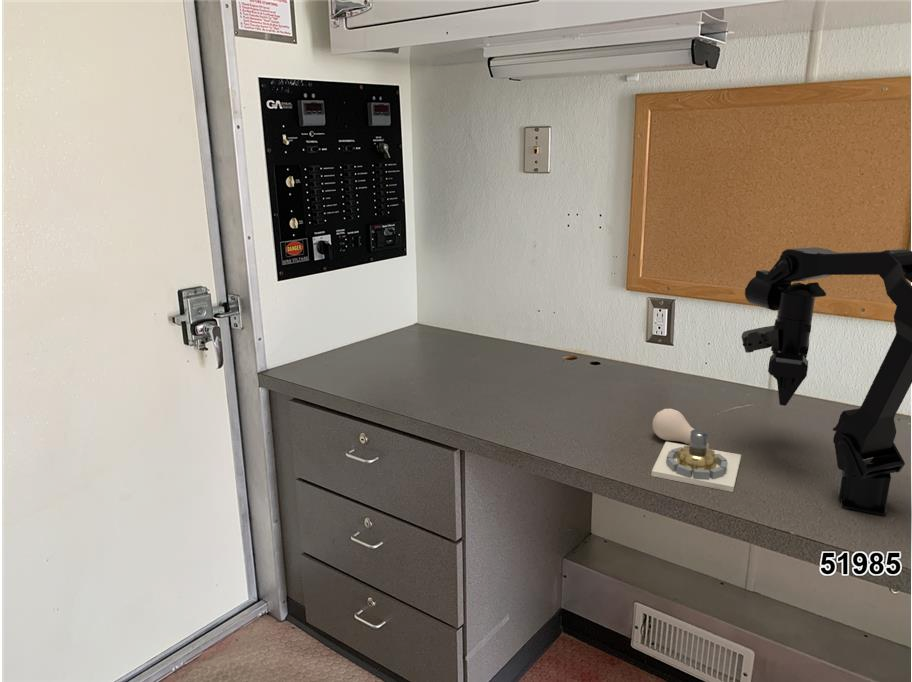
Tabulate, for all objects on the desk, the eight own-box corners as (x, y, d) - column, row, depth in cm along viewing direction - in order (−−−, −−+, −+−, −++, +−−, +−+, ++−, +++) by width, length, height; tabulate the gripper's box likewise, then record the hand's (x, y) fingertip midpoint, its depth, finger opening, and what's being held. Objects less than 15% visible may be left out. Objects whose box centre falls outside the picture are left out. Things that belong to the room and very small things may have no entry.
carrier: (740, 459, 136) (742, 440, 135) (733, 492, 124) (735, 471, 123) (665, 446, 142) (667, 427, 141) (651, 475, 130) (652, 455, 129)
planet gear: (717, 461, 133) (721, 429, 131) (713, 477, 127) (716, 443, 125) (680, 455, 136) (683, 423, 134) (674, 470, 130) (677, 436, 128)
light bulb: (716, 424, 140) (666, 397, 146) (701, 439, 136) (650, 411, 142) (706, 448, 144) (658, 421, 150) (691, 464, 140) (643, 436, 146)
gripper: (751, 301, 141) (742, 375, 146) (742, 324, 125) (733, 406, 130) (813, 307, 136) (802, 383, 141) (813, 331, 120) (800, 417, 125)
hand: (783, 396), depth 134 cm, fingers open, 9 cm apart
